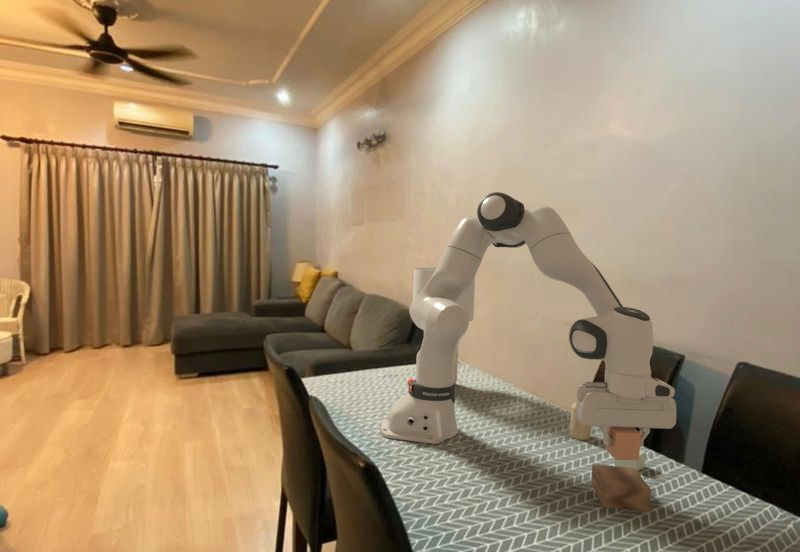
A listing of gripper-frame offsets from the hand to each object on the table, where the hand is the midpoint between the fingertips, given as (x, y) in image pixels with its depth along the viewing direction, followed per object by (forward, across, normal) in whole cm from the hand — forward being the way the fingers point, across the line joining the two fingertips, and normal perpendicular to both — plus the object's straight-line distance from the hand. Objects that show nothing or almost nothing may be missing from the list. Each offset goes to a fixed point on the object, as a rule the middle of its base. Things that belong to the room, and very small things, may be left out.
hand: (622, 444), depth 98 cm
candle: (+12, +2, +30) cm, 32 cm away
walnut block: (+12, -1, -1) cm, 12 cm away
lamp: (+12, -36, +71) cm, 80 cm away
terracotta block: (+2, 0, 0) cm, 2 cm away
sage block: (+11, +8, +13) cm, 19 cm away
